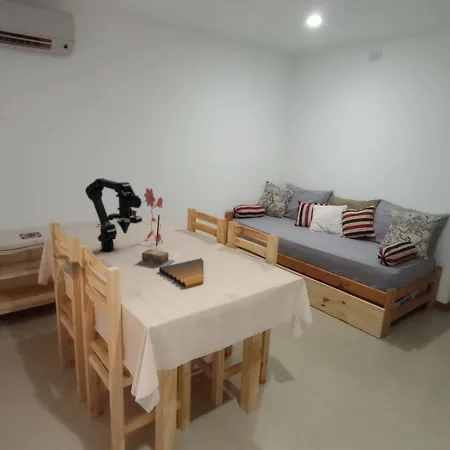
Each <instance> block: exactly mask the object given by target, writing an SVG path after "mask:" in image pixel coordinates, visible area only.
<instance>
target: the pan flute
mask: <svg viewBox="0 0 450 450" xmlns="http://www.w3.org/2000/svg"><path fill="white" fill-rule="evenodd" d="M204 265H205V264H204V260H203V258H201V257H200V258H196V259H192V260H188V261H183V262H178V263H172V264H170V265H168V266H164V267H158V271H159V273H161V274H162V275H164V276H166V278H169V279H170V280H172V281H173V282H175V283H176V284H178V285H180V286H182V287H183V288H185V289H187V288H190V287H195V286H198V285H201V284H204V281H205V280H204V278H205V277H204V274H205V273H204Z"/></svg>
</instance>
